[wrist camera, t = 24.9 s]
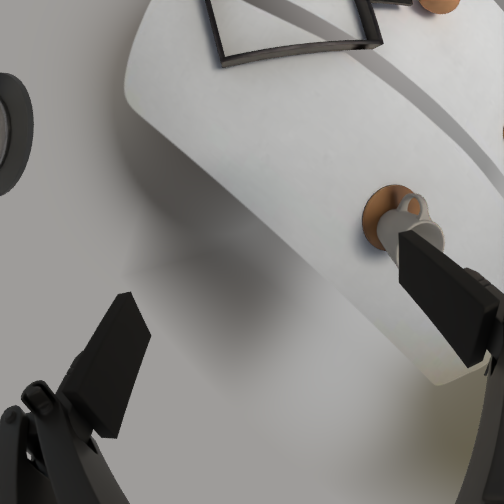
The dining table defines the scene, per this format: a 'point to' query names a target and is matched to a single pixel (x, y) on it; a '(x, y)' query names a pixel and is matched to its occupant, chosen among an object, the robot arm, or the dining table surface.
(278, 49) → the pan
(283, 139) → the dining table surface
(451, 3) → the egg
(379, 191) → the coaster
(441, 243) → the cup
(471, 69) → the dining table surface
